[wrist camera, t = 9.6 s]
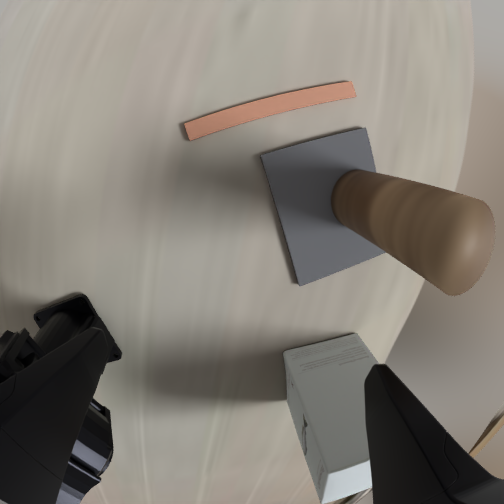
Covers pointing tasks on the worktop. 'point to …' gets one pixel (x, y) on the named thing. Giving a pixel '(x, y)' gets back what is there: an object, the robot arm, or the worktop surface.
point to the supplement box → (331, 412)
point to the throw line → (268, 108)
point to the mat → (318, 202)
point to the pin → (419, 226)
